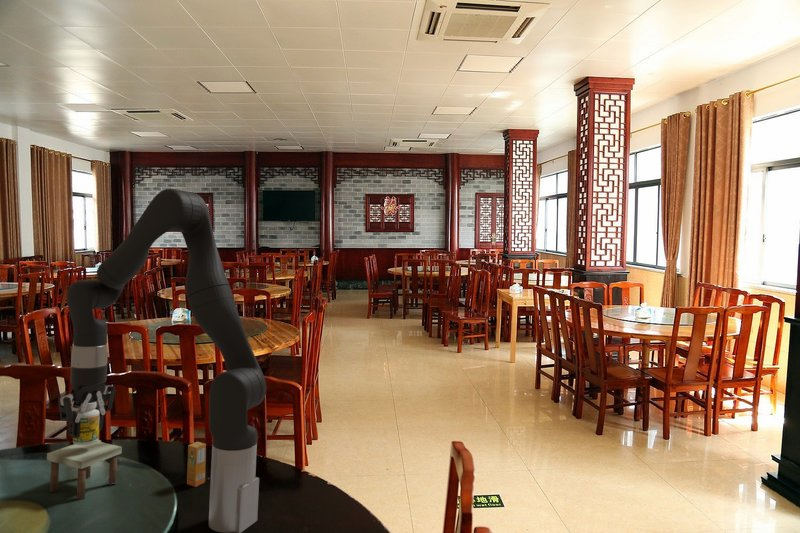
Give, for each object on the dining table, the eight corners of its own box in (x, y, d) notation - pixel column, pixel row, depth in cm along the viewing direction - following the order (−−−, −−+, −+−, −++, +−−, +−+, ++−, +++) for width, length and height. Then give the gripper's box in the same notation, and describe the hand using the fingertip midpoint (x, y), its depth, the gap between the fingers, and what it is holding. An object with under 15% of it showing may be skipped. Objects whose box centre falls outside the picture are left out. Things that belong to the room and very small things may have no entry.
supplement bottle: (97, 436, 133) (99, 398, 133) (99, 443, 129) (101, 403, 129) (72, 439, 130) (73, 400, 130) (73, 447, 126) (74, 406, 126)
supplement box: (185, 484, 134) (187, 444, 134) (196, 479, 137) (198, 440, 137) (194, 487, 133) (196, 447, 132) (205, 483, 136) (207, 443, 135)
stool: (120, 483, 133) (121, 446, 133) (79, 501, 123) (81, 461, 122) (87, 474, 137) (88, 439, 137) (45, 491, 126) (47, 453, 126)
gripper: (73, 370, 121) (70, 445, 121) (126, 360, 135) (123, 428, 135) (49, 366, 124) (46, 440, 124) (103, 356, 137) (100, 423, 137)
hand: (86, 433), depth 129 cm, fingers closed on supplement bottle, 5 cm apart
